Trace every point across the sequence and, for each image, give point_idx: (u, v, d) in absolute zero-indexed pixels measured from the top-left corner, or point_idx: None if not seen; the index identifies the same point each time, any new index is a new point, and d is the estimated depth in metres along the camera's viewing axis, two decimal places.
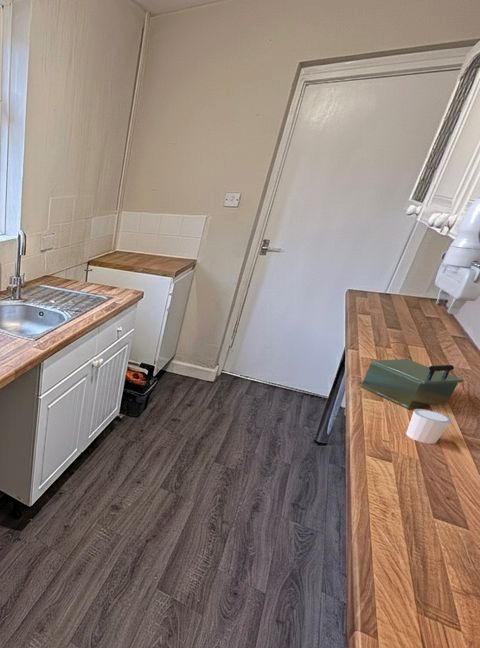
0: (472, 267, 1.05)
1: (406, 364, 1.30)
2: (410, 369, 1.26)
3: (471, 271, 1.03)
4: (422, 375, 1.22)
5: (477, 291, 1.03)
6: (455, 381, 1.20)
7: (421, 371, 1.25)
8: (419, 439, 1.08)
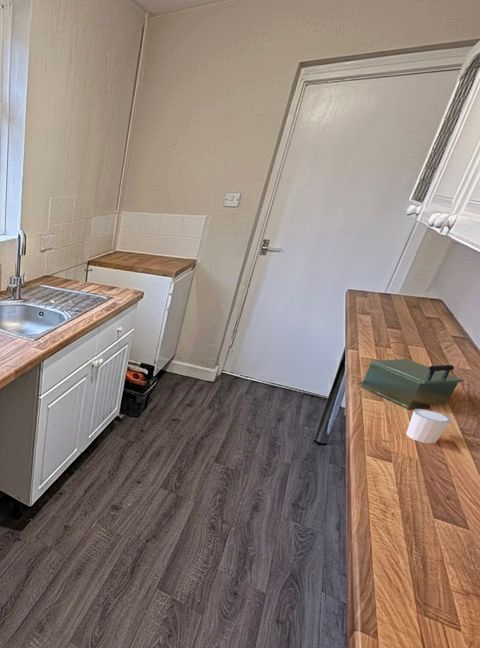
0: None
1: (406, 364, 1.30)
2: (410, 369, 1.26)
3: None
4: (422, 375, 1.22)
5: None
6: (455, 381, 1.20)
7: (421, 371, 1.25)
8: (419, 439, 1.08)
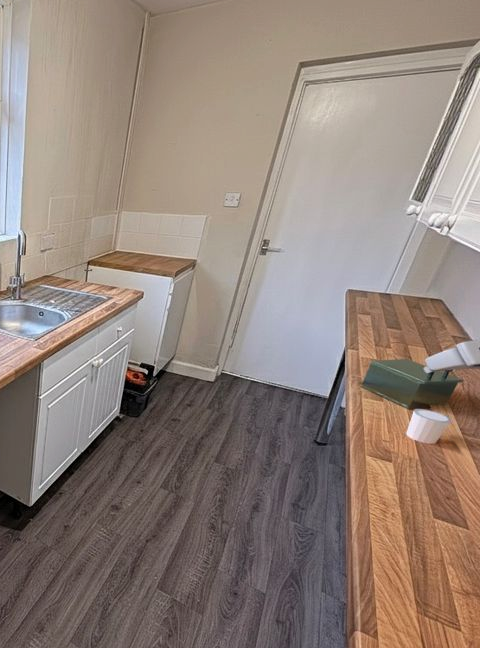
0: None
1: (406, 364, 1.30)
2: (410, 369, 1.26)
3: None
4: (422, 375, 1.22)
5: None
6: (455, 381, 1.20)
7: (421, 371, 1.25)
8: (419, 439, 1.08)
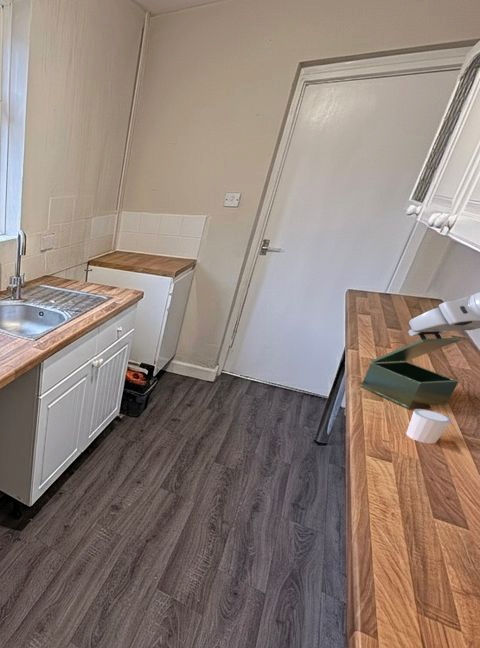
0: None
1: None
2: None
3: None
4: None
5: None
6: (453, 339, 1.20)
7: None
8: (419, 439, 1.08)
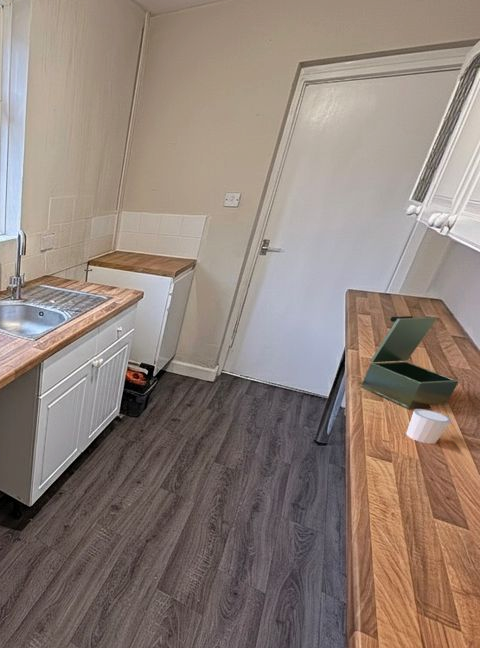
0: None
1: None
2: None
3: None
4: None
5: None
6: (428, 318, 1.25)
7: None
8: (419, 439, 1.08)
